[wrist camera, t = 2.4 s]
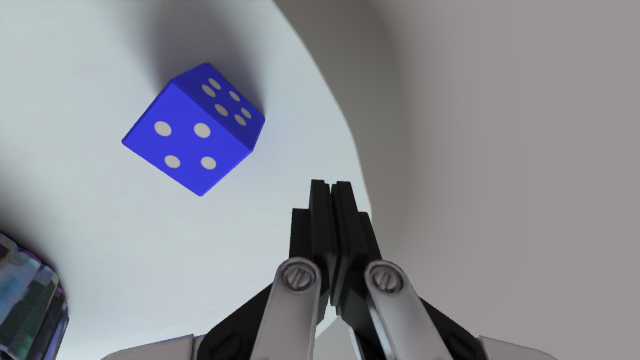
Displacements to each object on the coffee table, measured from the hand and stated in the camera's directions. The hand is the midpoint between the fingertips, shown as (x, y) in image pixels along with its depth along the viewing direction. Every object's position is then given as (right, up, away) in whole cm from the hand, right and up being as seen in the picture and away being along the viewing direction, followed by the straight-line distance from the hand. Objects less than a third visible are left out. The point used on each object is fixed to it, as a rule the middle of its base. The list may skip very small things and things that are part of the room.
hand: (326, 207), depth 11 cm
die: (-8, +6, +7) cm, 12 cm away
